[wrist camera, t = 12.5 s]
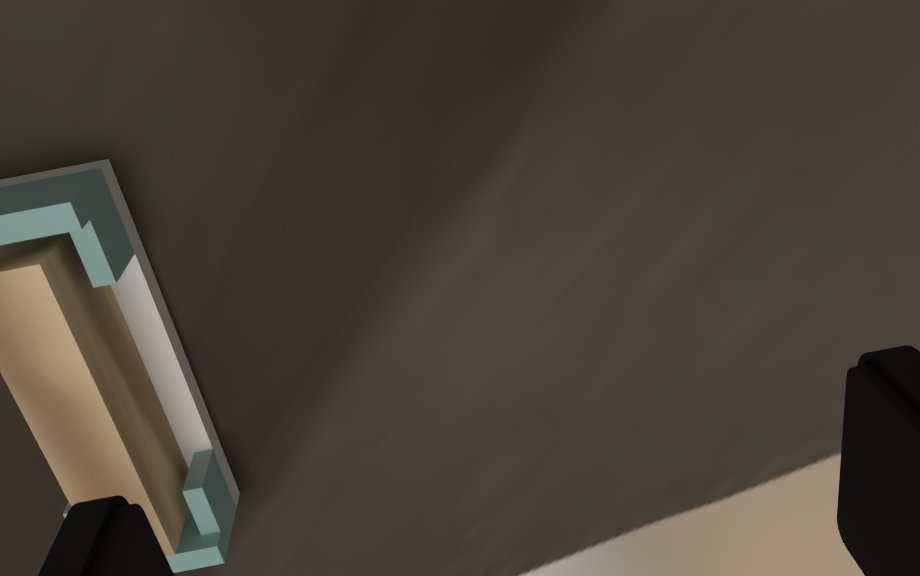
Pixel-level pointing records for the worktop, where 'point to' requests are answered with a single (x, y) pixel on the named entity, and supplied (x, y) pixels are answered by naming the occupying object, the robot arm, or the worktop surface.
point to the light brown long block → (86, 385)
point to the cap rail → (134, 330)
